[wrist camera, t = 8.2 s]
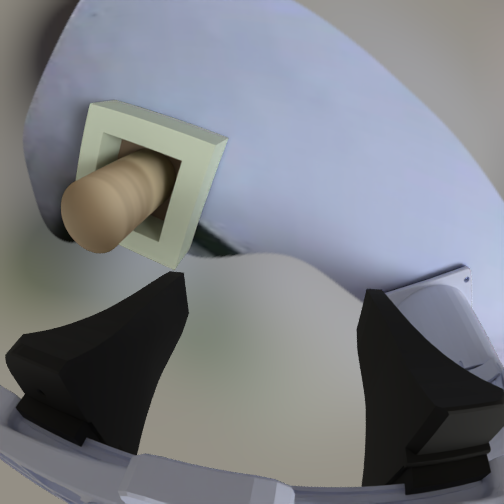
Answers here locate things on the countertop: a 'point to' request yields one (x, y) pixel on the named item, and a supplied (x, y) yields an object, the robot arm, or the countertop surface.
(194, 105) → the countertop surface
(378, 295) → the robot arm
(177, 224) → the socket
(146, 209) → the peg
